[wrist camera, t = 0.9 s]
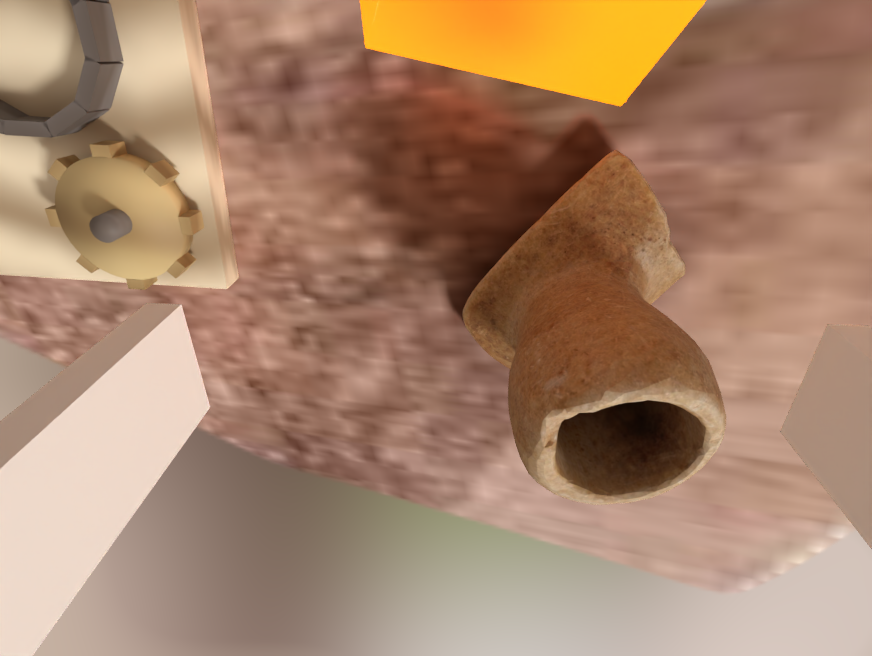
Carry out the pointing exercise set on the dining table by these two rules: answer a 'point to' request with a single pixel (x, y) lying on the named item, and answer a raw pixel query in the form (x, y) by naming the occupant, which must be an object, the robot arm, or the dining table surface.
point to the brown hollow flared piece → (599, 346)
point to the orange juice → (534, 39)
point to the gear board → (110, 146)
